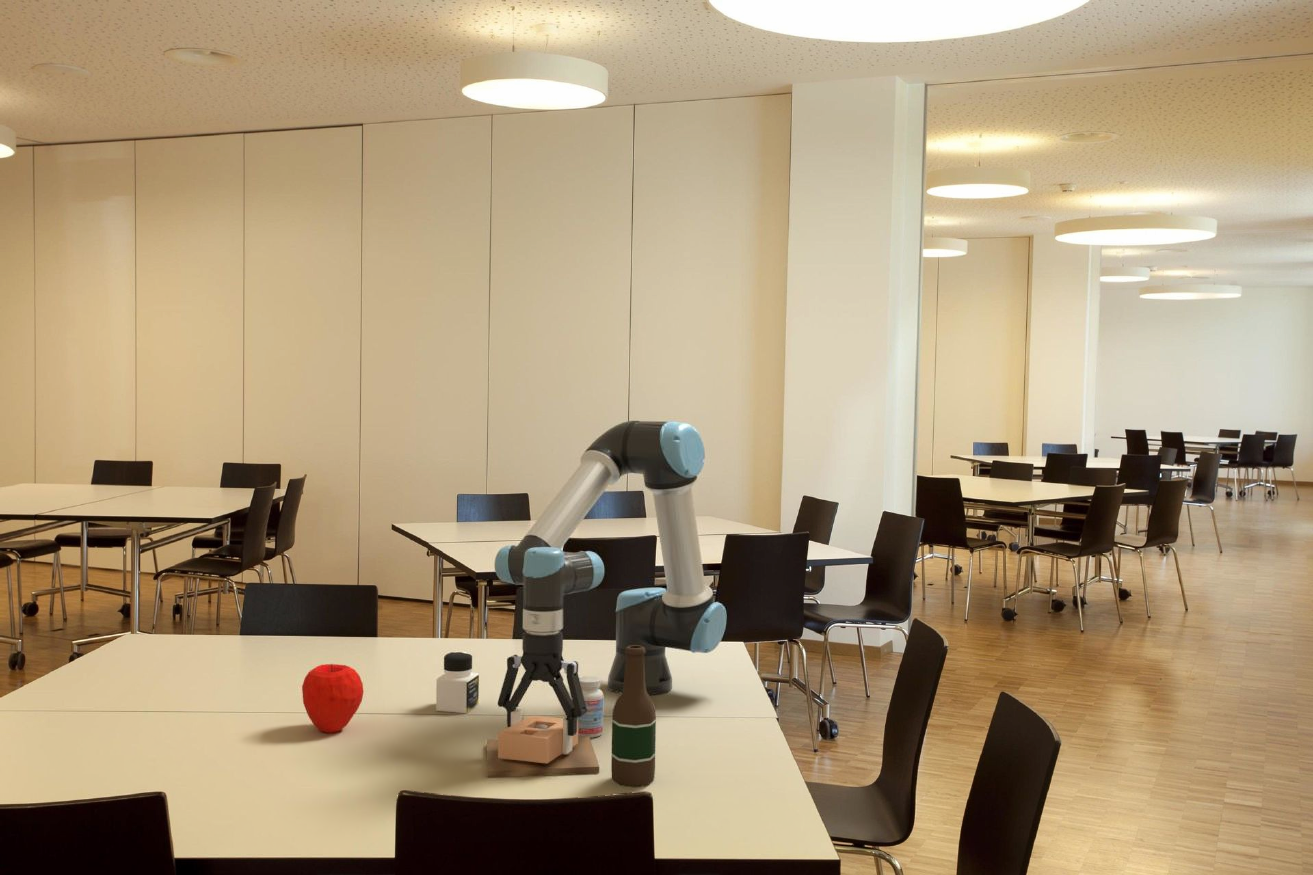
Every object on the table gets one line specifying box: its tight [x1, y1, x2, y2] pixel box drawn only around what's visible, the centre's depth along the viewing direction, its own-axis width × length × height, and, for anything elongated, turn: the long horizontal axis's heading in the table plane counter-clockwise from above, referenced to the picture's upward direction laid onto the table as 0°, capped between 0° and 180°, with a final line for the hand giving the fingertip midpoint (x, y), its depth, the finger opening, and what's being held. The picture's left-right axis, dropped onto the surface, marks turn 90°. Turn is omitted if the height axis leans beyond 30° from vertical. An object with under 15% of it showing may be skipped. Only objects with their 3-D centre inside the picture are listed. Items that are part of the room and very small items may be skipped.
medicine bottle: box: [435, 651, 480, 714], centre depth 239 cm, size 7×7×12 cm
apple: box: [301, 663, 365, 734], centre depth 222 cm, size 12×12×13 cm
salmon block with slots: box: [497, 715, 578, 763], centre depth 206 cm, size 13×10×4 cm
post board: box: [486, 724, 600, 778], centre depth 207 cm, size 20×18×6 cm
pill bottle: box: [577, 675, 604, 739], centre depth 223 cm, size 6×6×11 cm
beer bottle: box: [610, 645, 657, 788], centre depth 196 cm, size 8×8×24 cm
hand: (541, 748), depth 207 cm, fingers closed on salmon block with slots, 10 cm apart
